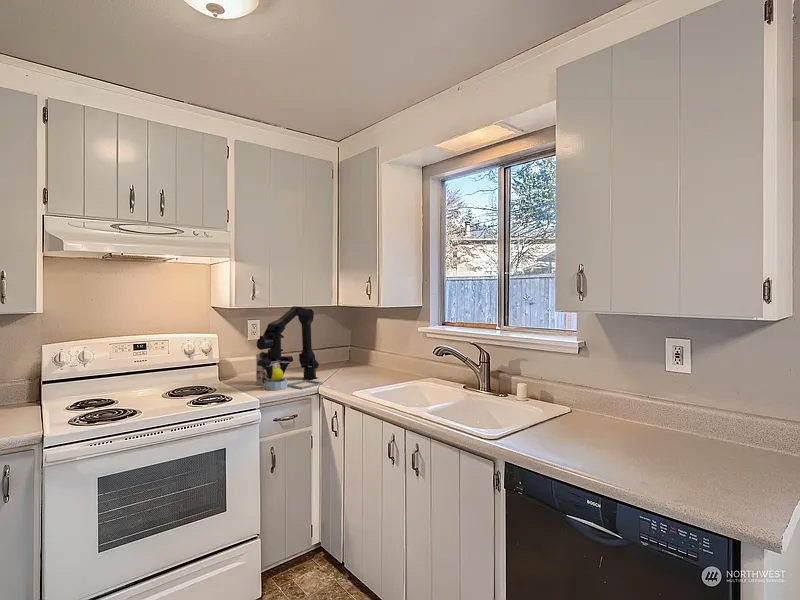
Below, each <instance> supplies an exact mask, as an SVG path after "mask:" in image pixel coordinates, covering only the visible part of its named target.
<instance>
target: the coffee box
mask: <svg viewBox="0 0 800 600" xmlns="http://www.w3.org/2000/svg"><path fill="white" fill-rule="evenodd" d="M255 357H256V359H255V361H256V363H255V364H256V366H255V367H256V369H255V371H256V372H255V374H256V376H255V377H256V380H255V382H256V384H257V385H260V386H265V380H267V379H269V377H268V374H267V372H266V370H265V368H264V367H261V366H257V362H258V360H262V359H260V353H257V354H255ZM277 364H278V362H277V363H271V366H273V368H278V366H277Z"/></svg>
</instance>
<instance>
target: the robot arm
mask: <svg viewBox="0 0 800 600" xmlns="http://www.w3.org/2000/svg"><path fill="white" fill-rule="evenodd" d="M314 312H315V311H314V310H313V309H311V308H304V307H301V306H299V305H298V306H297V305H295V306H292V307H290V309H289V310H288V311H286V312H285V313H284V314H283V315H282V316H281V317H279V318H278V319H276V320H272V321H271V322H269V323H268V324H267V327H266V329H265V331H264V332H263V335H259V338H258V339H257V341H256V346H257V349H259V350H260V351H261V352H259V354H260V359H262V360H258V362H257V366H261V367H264V368H265V370H266V372H267V374H268V377H269V379H271V377H272V369H273V366H271V363H277V364H278V365H279V368H280V369H281V370H282V371H283V376H284V374H285V372H286V370H287V369H288V366H289V365H290V364H291V363H292V362H294V358H293V356H292V355H282V352H283V351H284V349H283V348H282V339H284V337H285V336H284V335H283V334H282V333H283V332H284V331H285V330H286V326H287V325H288V324H289V323H290V322H292V321H293V319H295V318H296V317H298V321H299V322H300V324H301V337H302V340H301V343H302V344H301V345H302V351H301V352H300V353H299V354H298V357H299V358H298V362H299V364H300V367H301V369H303V377H302V380H312V381H313V380H315V379H319V377H318V376H317V369H319V367H320V366H319V365H320V363H319V362H318V361H317V359H316V355H315V352H314V350H313V349H312V323H313V321H314V316H315V314H314ZM262 350H267V352H265V351H262Z"/></svg>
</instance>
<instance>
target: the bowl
mask: <svg viewBox="0 0 800 600" xmlns="http://www.w3.org/2000/svg"><path fill="white" fill-rule="evenodd" d="M287 384H288V379H287V378H283V377H282V379H281V380H280V381H272V380H271V379H267V380H265V385H264V389H265V391H281V390H282V389H283V390H286V389H287V388H288V387H287Z"/></svg>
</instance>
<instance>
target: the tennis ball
mask: <svg viewBox="0 0 800 600" xmlns="http://www.w3.org/2000/svg"><path fill="white" fill-rule="evenodd" d="M283 377H284V375H283V371H282V370H281V369H280V367H277V368H273V369H272V377H271V380H272V381H280V380H281V379H282V378H283Z"/></svg>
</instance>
